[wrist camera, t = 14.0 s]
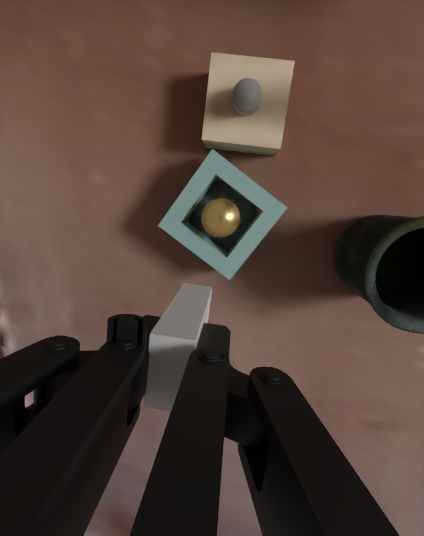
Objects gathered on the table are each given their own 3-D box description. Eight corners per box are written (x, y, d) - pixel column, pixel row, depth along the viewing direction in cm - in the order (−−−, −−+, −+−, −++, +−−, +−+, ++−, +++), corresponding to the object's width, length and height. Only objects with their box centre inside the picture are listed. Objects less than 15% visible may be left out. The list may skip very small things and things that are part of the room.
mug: (325, 218, 40) (361, 225, 28) (451, 200, 38) (545, 198, 26) (332, 302, 42) (369, 341, 30) (452, 287, 40) (541, 323, 28)
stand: (215, 72, 37) (209, 40, 30) (287, 79, 37) (299, 49, 30) (206, 147, 39) (199, 135, 32) (275, 155, 39) (283, 145, 31)
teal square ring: (215, 154, 37) (212, 148, 33) (282, 207, 38) (287, 207, 34) (165, 223, 39) (157, 225, 35) (230, 272, 40) (229, 280, 36)
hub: (196, 178, 40) (186, 173, 33) (260, 186, 40) (265, 183, 32) (189, 242, 42) (178, 250, 34) (250, 250, 41) (253, 261, 34)
